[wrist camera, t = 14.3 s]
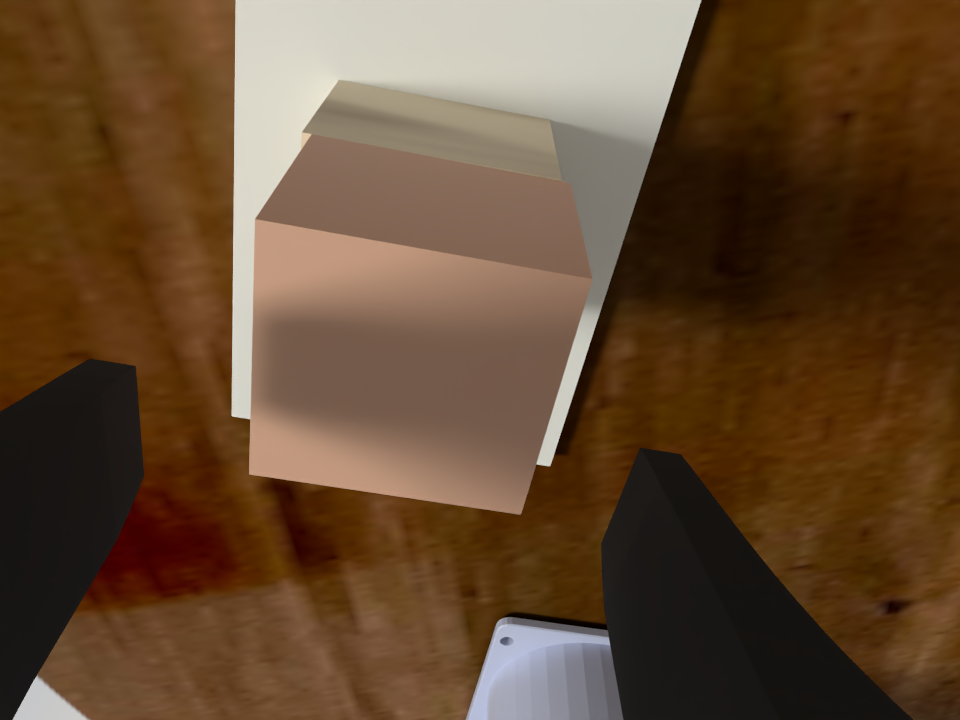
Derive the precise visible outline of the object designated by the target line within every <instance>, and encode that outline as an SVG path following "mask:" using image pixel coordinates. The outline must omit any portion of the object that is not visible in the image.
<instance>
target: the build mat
mask: <svg viewBox="0 0 960 720" xmlns="http://www.w3.org/2000/svg"><path fill="white" fill-rule="evenodd" d="M700 3H701V0H236V25H235V129H234V234H233V339H232V416H234V417H240V418H246V419H250V416H251V372H252V328H253V284H254V239H255V218H256V217H257V215H258V214H259V212H260V211H261V209H262V208H263V206H264V205H265V203H266V202H267V200H268V199H269V197H270V196H271V194H272V193H273V191H274V190H275V188H276V187H277V185H278V184H279V182H280V181H281V179H282V178H283V176H284V175H285V173H286V172H287V170H288V169H289V167H290V166H291V164H292V163H293V161H294V160H295V158H296V157H297V155H298V154H299V152H300V151H301V138H302V131H303V130H304V128H305V127H306V126H307V124H308V123H309V121H310V120H311V119H312V117H313V116H314V114H315V113H316V111H317V110H318V109H319V107H320V106H321V104H322V103H323V102H324V100H325V99H326V97H327V96H328V95H329V93H330V92H331V90H332V89H333V87H334V86H335V85H336V83H337V82H338V80H342V81H347V82H353V83H358V84H363V85H369V86H374V87H379V88H384V89H390V90H395V91H400V92H406V93H411V94H416V95H422V96H427V97H432V98H437V99H443V100H448V101H453V102H459V103H464V104H469V105H475V106H480V107H485V108H491V109H496V110H501V111H506V112H512V113H517V114H522V115H528V116H533V117H538V118H544V119H549V120H550V125H551V129H552V134H553V139H554V144H555V149H556V154H557V159H558V164H559V169H560V174H561V179H562V180H561V181H562V182H568V183H571V187H572V191H573V196H574V200H575V204H576V209H577V213H578V218H579V222H580V226H581V231H582V235H583V239H584V244H585V248H586V252H587V257H588V261H589V266H590V270H591V274H592V279H593V280H592V283H591V286H590V290H589V293H588V296H587V299H586V303H585V306H584V309H583V313H582V316H581V319H580V322H579V326H578V329H577V332H576V336H575V339H574V342H573V345H572V349H571V352H570V355H569V358H568V362H567V365H566V368H565V372H564V375H563V378H562V381H561V385H560V388H559V391H558V394H557V398H556V401H555V404H554V408H553V411H552V414H551V417H550V421H549V424H548V427H547V431H546V434H545V437H544V440H543V444H542V447H541V450H540V453H539V457H538V460H537V463H536V464H538V465H544V466H550V465H551V462H552V459H553V456H554V453H555V450H556V447H557V444H558V441H559V438H560V435H561V431H562V428H563V425H564V422H565V419H566V416H567V413H568V410H569V407H570V404H571V401H572V398H573V394H574V391H575V388H576V385H577V382H578V379H579V376H580V373H581V370H582V367H583V364H584V361H585V357H586V354H587V351H588V348H589V345H590V342H591V339H592V336H593V333H594V330H595V327H596V324H597V320H598V317H599V314H600V311H601V308H602V305H603V302H604V299H605V296H606V293H607V290H608V287H609V283H610V280H611V277H612V274H613V271H614V268H615V265H616V262H617V259H618V256H619V253H620V250H621V246H622V243H623V240H624V237H625V234H626V231H627V228H628V225H629V222H630V219H631V216H632V213H633V210H634V206H635V203H636V200H637V197H638V194H639V191H640V188H641V185H642V182H643V179H644V176H645V173H646V169H647V166H648V163H649V160H650V157H651V154H652V151H653V148H654V145H655V142H656V139H657V136H658V132H659V129H660V126H661V123H662V120H663V117H664V114H665V111H666V108H667V105H668V102H669V99H670V95H671V92H672V89H673V86H674V83H675V80H676V77H677V74H678V71H679V68H680V65H681V62H682V58H683V55H684V52H685V49H686V46H687V43H688V40H689V37H690V34H691V31H692V28H693V25H694V21H695V18H696V15H697V12H698V9H699V6H700Z"/></svg>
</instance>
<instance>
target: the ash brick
mask: <svg viewBox="0 0 960 720" xmlns="http://www.w3.org/2000/svg"><path fill="white" fill-rule="evenodd" d="M311 134H314V135H320V136H325V137H330V138H335V139H341V140H346V141H351V142H357V143H362V144H367V145H372V146H378V147H383V148H388V149H393V150H399V151H404V152H409V153H415V154H420V155H425V156H430V157H436V158H441V159H446V160H452V161H457V162H462V163H467V164H473V165H478V166H483V167H488V168H494V169H499V170H504V171H510V172H515V173H520V174H525V175H531V176H536V177H541V178H547V179H552V180H557V181H561V180H562V179H561V174H560V169H559V164H558V159H557V154H556V149H555V144H554V139H553V134H552V129H551V125H550V120H549V119H544V118H538V117H533V116H528V115H522V114H517V113H512V112H506V111H501V110H496V109H491V108H485V107H480V106H475V105H469V104H464V103H459V102H453V101H448V100H443V99H437V98H432V97H427V96H422V95H416V94H411V93H406V92H400V91H395V90H390V89H384V88H379V87H374V86H369V85H363V84H358V83H353V82H347V81H342V80H338V82H337V83H336V85H335V86H334V87H333V89H332V90H331V92H330V93H329V95H328V96H327V97H326V99H325V100H324V102H323V103H322V104H321V106H320V107H319V109H318V110H317V111H316V113H315V114H314V116H313V117H312V119H311V120H310V121H309V123H308V124H307V126H306V127H305V128H304V130H303V131H302V138H301V149H302V148H303V146H304V145H305V143H306V142H307V140H308V139H309V137H310V136H311Z"/></svg>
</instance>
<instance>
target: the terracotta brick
mask: <svg viewBox="0 0 960 720" xmlns="http://www.w3.org/2000/svg"><path fill="white" fill-rule="evenodd" d="M592 280H593V279H592V274H591V270H590V266H589V261H588V257H587V252H586V248H585V244H584V239H583V235H582V231H581V226H580V222H579V218H578V213H577V209H576V204H575V200H574V196H573V191H572V187H571V183H568V182H562V181H557V180H552V179H547V178H541V177H536V176H531V175H525V174H520V173H515V172H510V171H504V170H499V169H494V168H488V167H483V166H478V165H473V164H467V163H462V162H457V161H452V160H446V159H441V158H436V157H430V156H425V155H420V154H415V153H409V152H404V151H399V150H393V149H388V148H383V147H378V146H372V145H367V144H362V143H357V142H351V141H346V140H341V139H335V138H330V137H325V136H320V135H314V134H311V136H310V137H309V139H308V140H307V142H306V143H305V145H304V146H303V148H302V149H301V151H300V152H299V154H298V155H297V157H296V158H295V160H294V161H293V163H292V164H291V166H290V167H289V169H288V170H287V172H286V173H285V175H284V176H283V178H282V179H281V181H280V182H279V184H278V185H277V187H276V188H275V190H274V191H273V193H272V194H271V196H270V197H269V199H268V200H267V202H266V203H265V205H264V206H263V208H262V209H261V211H260V212H259V214H258V215H257V217H256V218H255V239H254V284H253V328H252V372H251V416H250V460H249V474H251V475H258V476H265V477H271V478H278V479H285V480H291V481H298V482H305V483H312V484H318V485H325V486H332V487H339V488H345V489H352V490H359V491H365V492H372V493H379V494H386V495H392V496H399V497H406V498H413V499H419V500H426V501H433V502H439V503H446V504H453V505H460V506H466V507H473V508H480V509H487V510H493V511H500V512H507V513H513V514H520V515H521V512H522V509H523V506H524V503H525V499H526V496H527V493H528V490H529V486H530V483H531V480H532V476H533V473H534V470H535V467H536V463H537V460H538V457H539V453H540V450H541V447H542V444H543V440H544V437H545V434H546V431H547V427H548V424H549V421H550V417H551V414H552V411H553V408H554V404H555V401H556V398H557V394H558V391H559V388H560V385H561V381H562V378H563V375H564V372H565V368H566V365H567V362H568V358H569V355H570V352H571V349H572V345H573V342H574V339H575V336H576V332H577V329H578V326H579V322H580V319H581V316H582V313H583V309H584V306H585V303H586V299H587V296H588V293H589V290H590V286H591V283H592Z"/></svg>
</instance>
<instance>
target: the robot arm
mask: <svg viewBox="0 0 960 720" xmlns="http://www.w3.org/2000/svg"><path fill="white" fill-rule="evenodd" d="M143 477H144V469H143V456H142V443H141V430H140V417H139V404H138V391H137V378H136V366H132V365H125V364H119V363H113V362H107V361H101V360H95V359H89V360H87V361H85V362H84V363H82V364H80V365H78V366H76V367H75V368H73V369H71V370H69V371H68V372H66V373H64V374H63V375H61V376H59V377H58V378H56V379H54V380H53V381H51V382H49V383H48V384H46V385H44V386H43V387H41V388H39V389H38V390H36V391H34V392H33V393H31V394H29V395H28V396H26V397H24V398H23V399H21V400H19V401H18V402H16V403H14V404H13V405H11V406H9V407H8V408H6V409H4V410H2V411H1V412H0V720H12V719H13V717H14V716H15V714H16V712H17V710H18V708H19V706H20V704H21V702H22V701H23V699H24V697H25V695H26V693H27V692H28V690H29V688H30V686H31V684H32V682H33V680H34V679H35V677H36V676H37V674H38V672H39V671H40V669H41V667H42V666H43V664H44V662H45V661H46V659H47V657H48V656H49V654H50V652H51V651H52V649H53V647H54V646H55V644H56V642H57V640H58V639H59V637H60V635H61V634H62V632H63V630H64V629H65V627H66V625H67V624H68V622H69V620H70V619H71V617H72V615H73V614H74V612H75V610H76V609H77V607H78V605H79V603H80V602H81V600H82V598H83V597H84V595H85V593H86V592H87V590H88V588H89V587H90V585H91V583H92V582H93V580H94V578H95V576H96V575H97V573H98V571H99V570H100V568H101V566H102V564H103V563H104V561H105V559H106V558H107V556H108V554H109V552H110V551H111V549H112V547H113V545H114V544H115V542H116V540H117V538H118V536H119V534H120V531H121V529H122V527H123V525H124V522H125V520H126V518H127V515H128V513H129V511H130V509H131V506H132V504H133V501H134V499H135V496H136V494H137V492H138V489H139V487H140V484H141V482H142V479H143ZM601 550H602V580H603V597H604V610H605V617H606V623H607V629H608V630H602V629H594V628H587V627H580V626H573V625H566V624H558V623H551V622H544V621H537V620H529V619H522V618H515V617H505V618H502V619H501V620H499V621H498V622H497V624H496V627H495V630H494V633H493V636H492V640H491V643H490V646H489V649H488V652H487V655H486V658H485V661H484V664H483V668H482V671H481V674H480V677H479V680H478V683H477V686H476V689H475V692H474V696H473V699H472V702H471V705H470V708H469V711H468V714H467V717H466V720H913V719H912V718H911V717H910V716H908V715H907V714H906V713H905V712H904V711H903V710H902V709H901V708H900V707H899V706H898V705H897V704H896V703H894V702H893V701H892V700H891V699H890V698H889V697H888V696H887V695H886V694H885V693H884V692H883V691H882V690H881V689H880V688H879V687H878V686H877V685H876V684H875V683H874V682H873V681H872V680H871V679H870V678H869V677H868V676H867V675H866V674H865V673H864V672H863V671H862V670H861V669H860V668H859V667H858V666H857V665H856V664H855V663H854V662H853V661H852V660H851V659H850V658H849V657H848V656H847V655H846V654H845V653H844V652H843V651H842V650H841V649H840V648H839V647H838V646H837V645H836V644H835V643H834V641H833V640H832V639H831V638H830V637H829V636H828V635H827V634H826V633H825V632H824V631H823V630H822V628H821V627H820V626H819V625H818V624H817V623H816V622H815V621H814V619H813V618H812V617H811V616H810V615H809V614H808V613H807V612H806V610H805V609H804V608H803V607H802V606H801V605H800V604H799V603H798V601H797V600H796V599H795V598H794V597H793V596H792V595H791V594H790V592H789V591H788V590H787V589H786V588H785V586H784V585H783V584H782V583H781V582H780V580H779V579H778V578H777V577H776V576H775V575H774V573H773V572H772V571H771V570H770V568H769V567H768V566H767V565H766V564H765V562H764V561H763V560H762V559H761V557H760V556H759V555H758V554H757V552H756V551H755V550H754V549H753V547H752V546H751V545H750V544H749V542H748V541H747V540H746V539H745V537H744V536H743V535H742V533H741V532H740V531H739V530H738V528H737V527H736V526H735V524H734V523H733V522H732V520H731V519H730V518H729V517H728V515H727V514H726V513H725V511H724V510H723V509H722V507H721V506H720V505H719V503H718V502H717V501H716V500H715V498H714V497H713V496H712V494H711V493H710V492H709V490H708V489H707V488H706V486H705V485H704V484H703V482H702V481H701V480H700V478H699V477H698V476H697V475H696V473H695V472H694V471H693V469H692V468H691V467H690V466H689V464H688V463H687V462H686V461H685V459H684V458H683V457H682V456H681V454H675V453H669V452H663V451H657V450H651V449H645V448H640V450H639V452H638V455H637V457H636V460H635V462H634V464H633V467H632V469H631V472H630V474H629V477H628V479H627V482H626V484H625V487H624V489H623V492H622V494H621V496H620V499H619V501H618V504H617V506H616V509H615V511H614V514H613V516H612V519H611V521H610V524H609V526H608V529H607V531H606V533H605V536H604V538H603V541H602V543H601Z"/></svg>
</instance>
